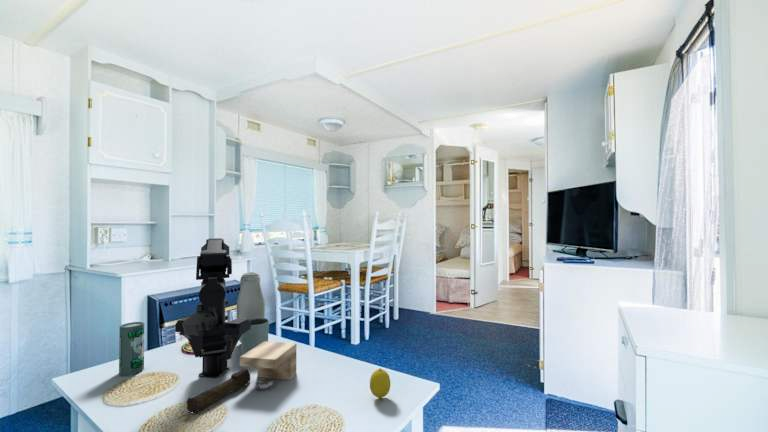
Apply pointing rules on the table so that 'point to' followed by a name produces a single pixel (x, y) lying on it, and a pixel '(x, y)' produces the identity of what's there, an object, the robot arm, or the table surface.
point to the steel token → (264, 384)
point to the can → (131, 348)
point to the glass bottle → (250, 298)
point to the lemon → (380, 383)
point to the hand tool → (219, 391)
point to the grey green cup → (255, 334)
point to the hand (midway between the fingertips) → (212, 358)
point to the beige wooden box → (272, 360)
